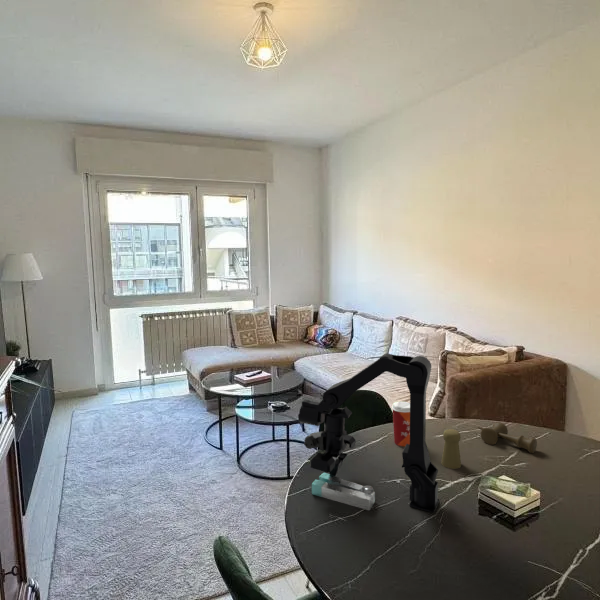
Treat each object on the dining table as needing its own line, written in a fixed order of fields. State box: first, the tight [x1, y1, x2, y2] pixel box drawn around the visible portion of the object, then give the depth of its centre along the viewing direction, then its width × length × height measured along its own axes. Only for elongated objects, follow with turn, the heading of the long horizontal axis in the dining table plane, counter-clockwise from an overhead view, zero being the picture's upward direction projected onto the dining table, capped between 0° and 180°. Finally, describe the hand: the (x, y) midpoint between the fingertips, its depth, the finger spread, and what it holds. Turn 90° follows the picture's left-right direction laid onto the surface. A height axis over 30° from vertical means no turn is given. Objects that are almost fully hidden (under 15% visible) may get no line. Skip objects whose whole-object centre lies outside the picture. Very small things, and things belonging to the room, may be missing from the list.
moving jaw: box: [318, 472, 364, 492], centre depth 126 cm, size 13×3×3 cm, turn 55°
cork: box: [440, 428, 462, 470], centre depth 140 cm, size 6×6×11 cm
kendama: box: [477, 421, 538, 454], centre depth 155 cm, size 6×10×20 cm
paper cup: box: [391, 401, 410, 447], centre depth 156 cm, size 8×8×14 cm
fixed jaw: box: [311, 478, 376, 511], centre depth 123 cm, size 17×6×4 cm, turn 61°
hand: (333, 478), depth 131 cm, fingers closed
